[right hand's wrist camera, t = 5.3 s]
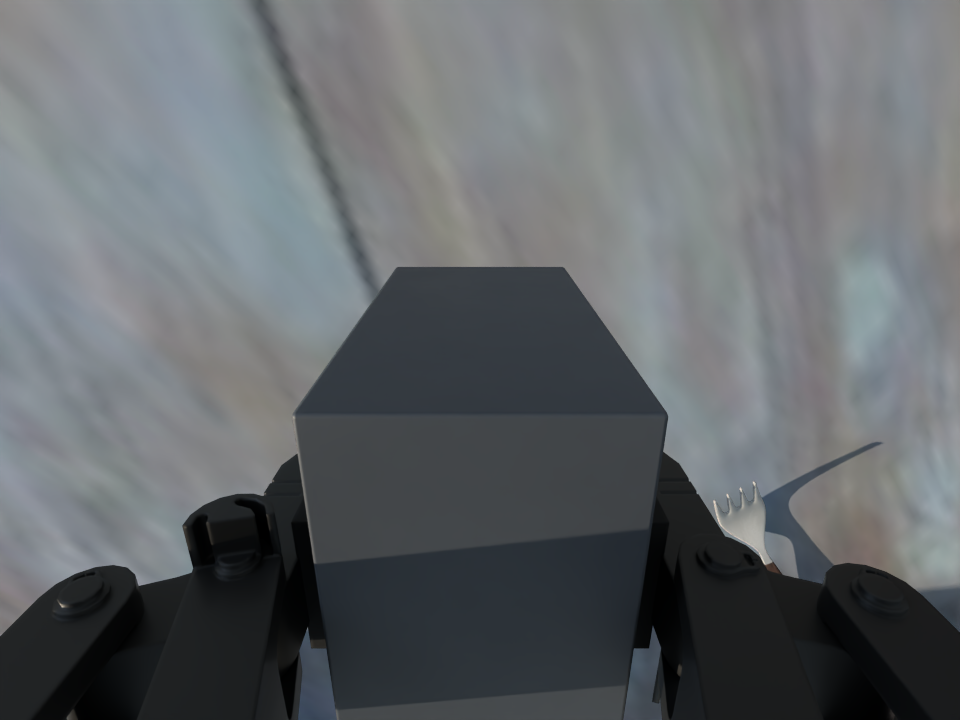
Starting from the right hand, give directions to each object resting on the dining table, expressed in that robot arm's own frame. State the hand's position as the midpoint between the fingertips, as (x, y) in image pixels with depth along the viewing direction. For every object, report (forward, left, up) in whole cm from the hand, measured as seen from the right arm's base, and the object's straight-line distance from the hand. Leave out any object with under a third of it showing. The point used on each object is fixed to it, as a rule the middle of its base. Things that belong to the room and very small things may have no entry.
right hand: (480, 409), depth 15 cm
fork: (-1, +23, -11) cm, 26 cm away
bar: (+6, +6, -1) cm, 9 cm away
